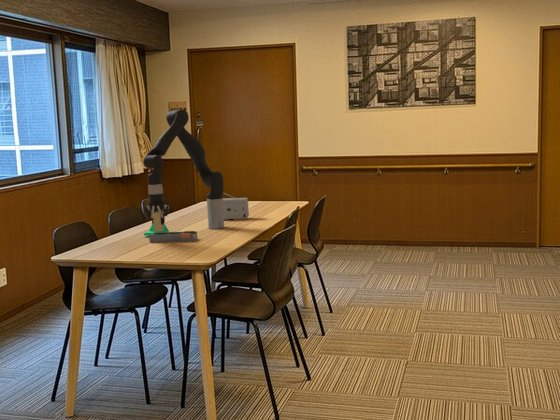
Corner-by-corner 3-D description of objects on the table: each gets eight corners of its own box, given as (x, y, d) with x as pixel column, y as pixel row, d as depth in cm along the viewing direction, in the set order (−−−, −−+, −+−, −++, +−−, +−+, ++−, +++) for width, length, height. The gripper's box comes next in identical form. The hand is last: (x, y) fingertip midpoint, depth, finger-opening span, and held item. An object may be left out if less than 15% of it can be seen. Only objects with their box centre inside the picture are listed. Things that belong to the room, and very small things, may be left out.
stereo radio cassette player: (249, 217, 428) (247, 186, 426) (247, 219, 420) (245, 187, 417) (216, 218, 430) (214, 187, 428) (214, 220, 422) (212, 189, 420)
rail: (154, 239, 365) (154, 231, 365) (197, 238, 361) (196, 230, 361) (149, 242, 357) (148, 234, 357) (193, 241, 353) (192, 233, 353)
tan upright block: (156, 229, 362) (155, 210, 361) (163, 229, 362) (162, 210, 360) (154, 231, 358) (152, 211, 357) (161, 231, 358) (159, 211, 356)
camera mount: (143, 237, 375) (141, 219, 373) (150, 235, 382) (149, 217, 380) (162, 237, 371) (160, 219, 369) (169, 235, 378) (167, 217, 376)
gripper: (170, 191, 360) (173, 223, 362) (145, 192, 362) (148, 223, 364) (166, 193, 352) (169, 225, 355) (140, 194, 354) (143, 226, 357)
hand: (158, 224), depth 359 cm, fingers closed on tan upright block, 4 cm apart
